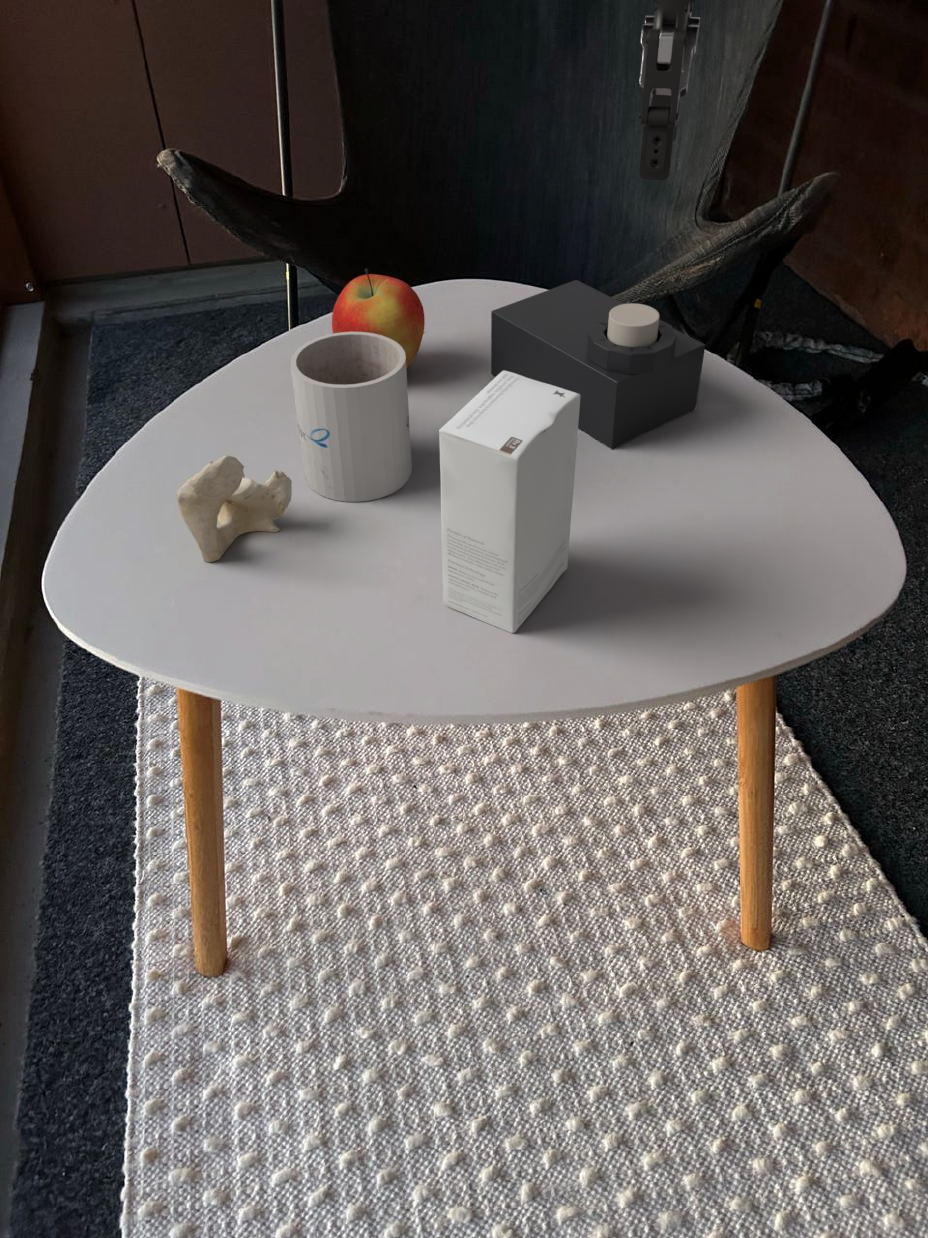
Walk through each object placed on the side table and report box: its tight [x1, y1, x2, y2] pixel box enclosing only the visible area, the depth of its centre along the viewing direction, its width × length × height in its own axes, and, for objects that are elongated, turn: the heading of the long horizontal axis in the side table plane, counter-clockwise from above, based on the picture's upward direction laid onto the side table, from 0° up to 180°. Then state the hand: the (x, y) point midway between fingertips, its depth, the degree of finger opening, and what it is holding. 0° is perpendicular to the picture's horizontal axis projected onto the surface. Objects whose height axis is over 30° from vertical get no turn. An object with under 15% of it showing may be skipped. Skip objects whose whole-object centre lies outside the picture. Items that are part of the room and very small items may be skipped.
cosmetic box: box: [438, 371, 580, 634], centre depth 71 cm, size 8×6×15 cm
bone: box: [176, 454, 293, 563], centre depth 79 cm, size 9×6×10 cm
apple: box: [331, 268, 426, 369], centre depth 96 cm, size 8×8×10 cm
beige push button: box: [607, 303, 660, 347], centre depth 87 cm, size 4×4×2 cm
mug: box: [289, 332, 413, 503], centre depth 86 cm, size 12×9×10 cm
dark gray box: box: [490, 279, 706, 450], centre depth 94 cm, size 17×10×8 cm, turn 37°
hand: (658, 158), depth 84 cm, fingers open, 8 cm apart
